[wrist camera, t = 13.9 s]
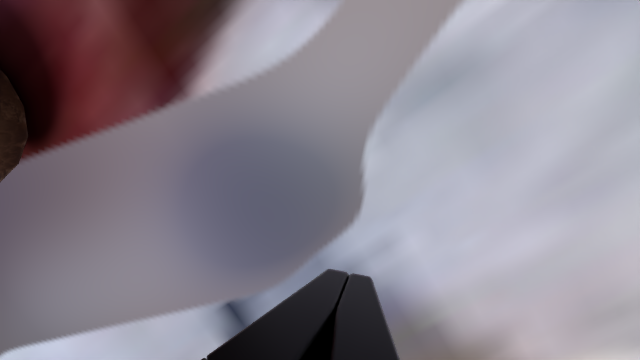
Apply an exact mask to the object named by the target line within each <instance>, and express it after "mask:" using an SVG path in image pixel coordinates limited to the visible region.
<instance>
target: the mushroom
mask: <svg viewBox="0 0 640 360" xmlns="http://www.w3.org/2000/svg"><path fill="white" fill-rule="evenodd" d="M27 138H28V132H27V125H26V118H25V111H24V106H23V104H22V102H21V101H20V99H19V97H18V95H17V93H16V92H15V90H14V88H13V86H12V85H11V83H10V81H9V79H8V78H7V76H6V75H5V74H4V73H3V72H2V71H1V70H0V182H1V181H2V180H3V179H4V178H5V177H6V176H7V175H8V174H9V173H10V172H11V171H12V170H13V168H15V167H16V166H17V165H18V164H19V161H20V158H21V155H22V152H23V149H24V147H25V144H26V141H27Z"/></svg>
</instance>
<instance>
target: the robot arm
mask: <svg viewBox="0 0 640 360" xmlns="http://www.w3.org/2000/svg"><path fill="white" fill-rule="evenodd" d="M201 360H400V358H399V356H398V353H397V350H396V347H395V344H394V341H393V338H392V335H391V332H390V330H389V327H388V324H387V321H386V318H385V315H384V312H383V309H382V307H381V304H380V301H379V298H378V295H377V292H376V289H375V286H374V283H373V281H372V279H371V277H369V276H364V275H359V274H350V275H349V274H348V273H347V272H344V271H339V270H333V269H328V270H326V271H325V272H323V273H322V274H320V275H319V276H318V277H316V278H315V279H313V280H312V281H311V282H309V283H308V284H306V285H305V286H304V287H302V288H301V289H299V290H298V291H297V292H295V293H294V294H292V295H291V296H290V297H288V298H287V299H285V300H284V301H283V302H281V303H280V304H278V305H277V306H276V307H274V308H273V309H271V310H270V311H269V312H267V313H266V314H264V315H263V316H262V317H260V318H259V319H258V320H256V321H255V322H253V323H252V324H251V325H249V326H248V327H246V328H245V329H244V330H242V331H241V332H239V333H238V334H237V335H235V336H234V337H232V338H231V339H230V340H228V341H227V342H225V343H224V344H223V345H221V346H220V347H218V348H217V349H216V350H214V351H213V352H211V353H210V354H209V355H207V359H206V358H203V359H201Z"/></svg>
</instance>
